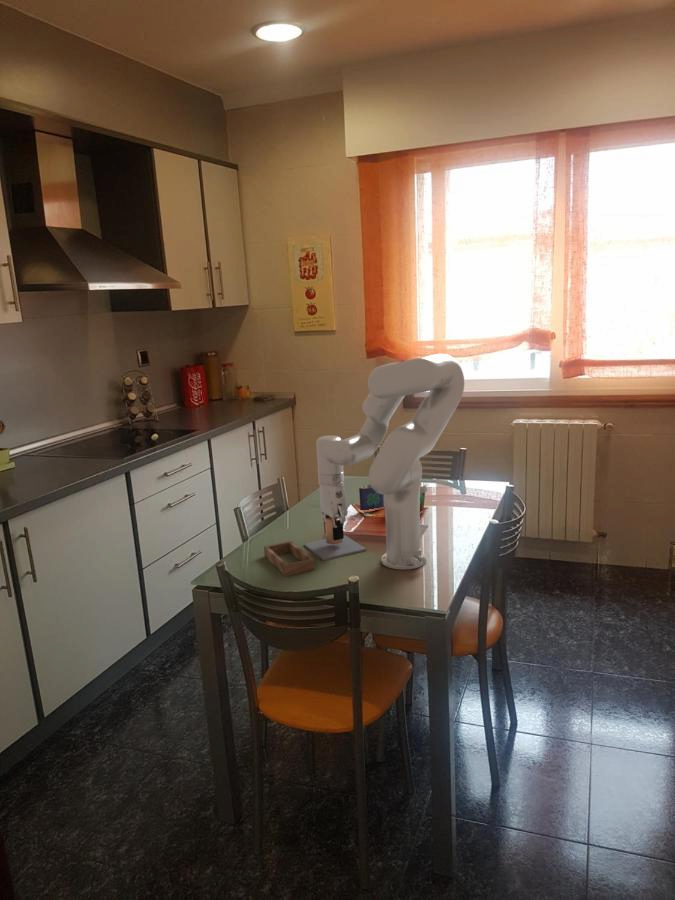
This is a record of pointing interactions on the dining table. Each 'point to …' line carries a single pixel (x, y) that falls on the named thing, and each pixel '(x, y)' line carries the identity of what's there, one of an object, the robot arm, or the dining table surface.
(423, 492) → the food container
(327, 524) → the clay cylinder
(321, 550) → the rubber mat
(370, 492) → the flask
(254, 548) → the dining table surface
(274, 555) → the pocket frame
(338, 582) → the dining table surface
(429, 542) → the dining table surface
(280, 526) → the dining table surface
